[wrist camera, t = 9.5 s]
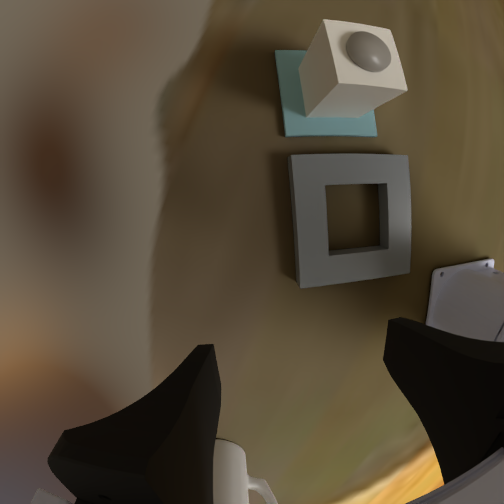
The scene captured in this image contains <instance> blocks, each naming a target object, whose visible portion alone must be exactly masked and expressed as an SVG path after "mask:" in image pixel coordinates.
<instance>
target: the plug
mask: <svg viewBox="0 0 504 504" xmlns="http://www.w3.org/2000/svg"><path fill="white" fill-rule="evenodd" d="M298 70H299V75H300V81H301V87H302V93H303V100H304V106H305V113H306V118H310V117H341V118H359V117H361V116H362V115H364V114H366V113H368V112H369V111H371V110H373V109H375V108H377V107H378V106H380V105H382V104H384V103H386V102H387V101H389V100H391V99H393V98H395V97H397V96H399V95H400V94H402V93H404V92H406V91H408V90H407V86H406V82H405V78H404V74H403V70H402V66H401V62H400V59H399V55H398V52H397V49H396V46H395V43H394V39H393V36H392V34H391V31H390V30H389V29H384V28H380V27H375V26H369V25H364V24H358V23H351V22H344V21H335V20H326V19H323V21H322V23H321V25H320V27H319V29H318V31H317V33H316V34H315V36H314V38H313V40H312V42H311V44H310V46H309V48H308V50H307V52H306V54H305V56H304V58H303V60H302V62H301V64H300V66H299V68H298Z"/></svg>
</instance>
